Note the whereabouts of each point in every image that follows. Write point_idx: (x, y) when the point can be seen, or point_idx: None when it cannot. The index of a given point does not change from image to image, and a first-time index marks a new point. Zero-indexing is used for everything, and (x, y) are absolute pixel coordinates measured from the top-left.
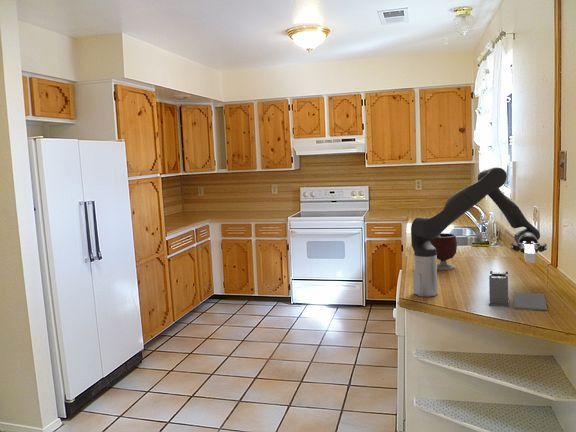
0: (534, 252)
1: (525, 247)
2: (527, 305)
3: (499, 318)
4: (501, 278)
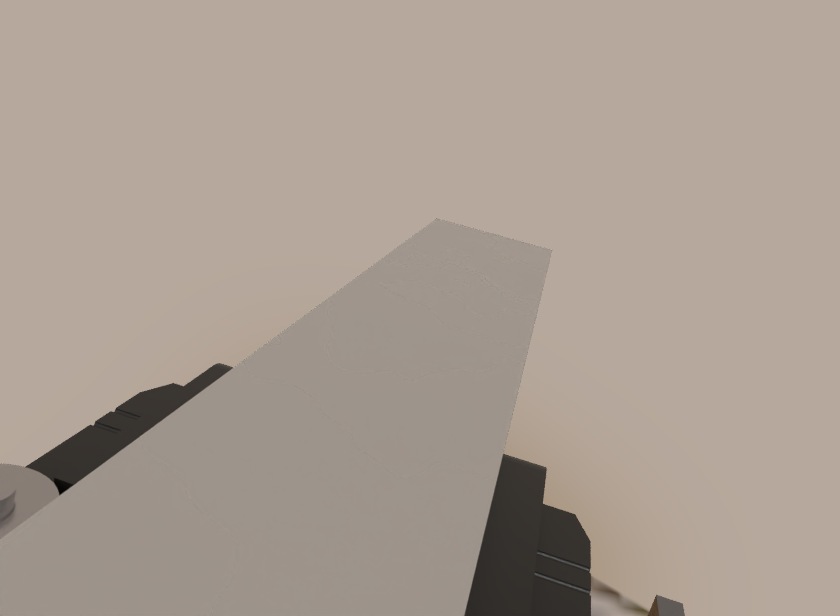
0: (433, 229)
1: (492, 376)
2: None
3: (610, 601)
4: None
